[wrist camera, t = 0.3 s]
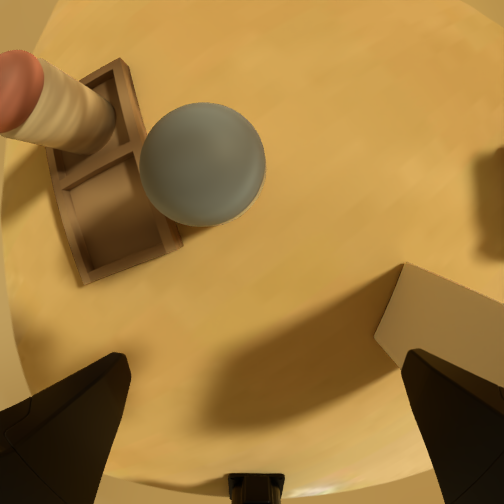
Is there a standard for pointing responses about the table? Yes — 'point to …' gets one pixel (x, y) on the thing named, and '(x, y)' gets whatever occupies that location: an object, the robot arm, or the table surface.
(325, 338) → the table surface
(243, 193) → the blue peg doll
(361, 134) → the table surface
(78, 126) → the red peg doll
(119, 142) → the doll tray
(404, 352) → the milk carton
